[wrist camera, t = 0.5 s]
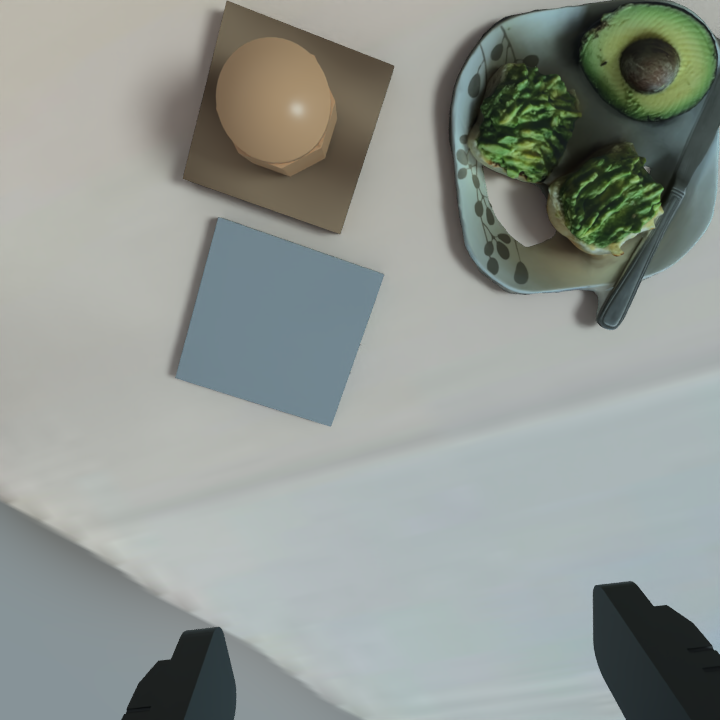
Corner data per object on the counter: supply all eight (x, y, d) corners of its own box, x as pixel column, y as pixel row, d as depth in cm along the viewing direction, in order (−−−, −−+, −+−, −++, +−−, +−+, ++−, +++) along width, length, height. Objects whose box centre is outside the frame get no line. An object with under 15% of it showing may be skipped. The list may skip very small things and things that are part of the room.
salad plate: (713, 312, 35) (766, 324, 31) (457, 340, 36) (473, 356, 31) (734, -5, 31) (800, -45, 26) (439, 28, 31) (454, -7, 26)
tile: (222, 217, 33) (218, 217, 32) (383, 273, 34) (384, 274, 33) (180, 373, 35) (175, 377, 34) (331, 421, 36) (331, 426, 35)
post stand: (232, 11, 30) (204, -42, 24) (392, 73, 31) (402, 37, 25) (190, 181, 32) (155, 169, 26) (340, 234, 33) (338, 234, 27)
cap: (252, 53, 29) (233, 18, 24) (346, 89, 29) (345, 62, 25) (225, 153, 30) (202, 139, 25) (316, 186, 31) (310, 177, 26)
